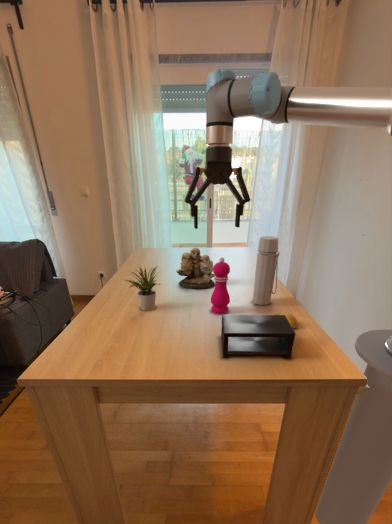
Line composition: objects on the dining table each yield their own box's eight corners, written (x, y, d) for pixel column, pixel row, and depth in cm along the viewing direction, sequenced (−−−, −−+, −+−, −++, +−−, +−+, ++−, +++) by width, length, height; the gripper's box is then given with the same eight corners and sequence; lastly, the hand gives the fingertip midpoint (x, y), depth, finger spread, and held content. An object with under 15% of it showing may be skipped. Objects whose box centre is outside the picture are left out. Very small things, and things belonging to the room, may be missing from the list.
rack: (280, 338, 90) (284, 314, 86) (290, 358, 79) (295, 333, 75) (221, 337, 90) (222, 314, 86) (223, 358, 80) (224, 333, 76)
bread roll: (300, 329, 95) (303, 318, 93) (276, 331, 93) (277, 321, 91) (288, 318, 102) (290, 308, 100) (265, 321, 100) (266, 310, 98)
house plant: (145, 297, 120) (141, 258, 112) (173, 303, 115) (171, 262, 106) (123, 309, 110) (117, 267, 101) (152, 316, 104) (148, 272, 96)
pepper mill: (233, 311, 108) (236, 257, 97) (219, 316, 104) (222, 261, 93) (219, 305, 112) (221, 254, 102) (206, 310, 108) (207, 257, 98)
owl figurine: (177, 290, 128) (175, 251, 119) (176, 282, 138) (175, 245, 130) (216, 288, 130) (217, 250, 121) (213, 280, 140) (213, 244, 131)
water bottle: (248, 303, 114) (254, 238, 101) (258, 297, 120) (265, 235, 107) (269, 309, 109) (278, 241, 96) (278, 303, 115) (288, 237, 102)
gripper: (256, 148, 85) (250, 224, 96) (173, 147, 81) (177, 226, 92) (265, 145, 79) (257, 227, 90) (176, 145, 75) (179, 230, 86)
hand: (216, 227), depth 91 cm, fingers open, 13 cm apart
